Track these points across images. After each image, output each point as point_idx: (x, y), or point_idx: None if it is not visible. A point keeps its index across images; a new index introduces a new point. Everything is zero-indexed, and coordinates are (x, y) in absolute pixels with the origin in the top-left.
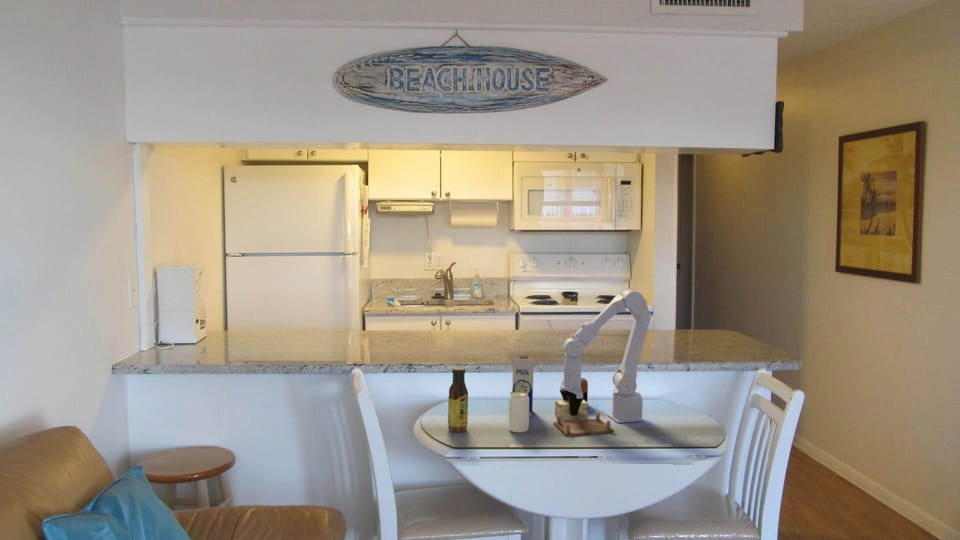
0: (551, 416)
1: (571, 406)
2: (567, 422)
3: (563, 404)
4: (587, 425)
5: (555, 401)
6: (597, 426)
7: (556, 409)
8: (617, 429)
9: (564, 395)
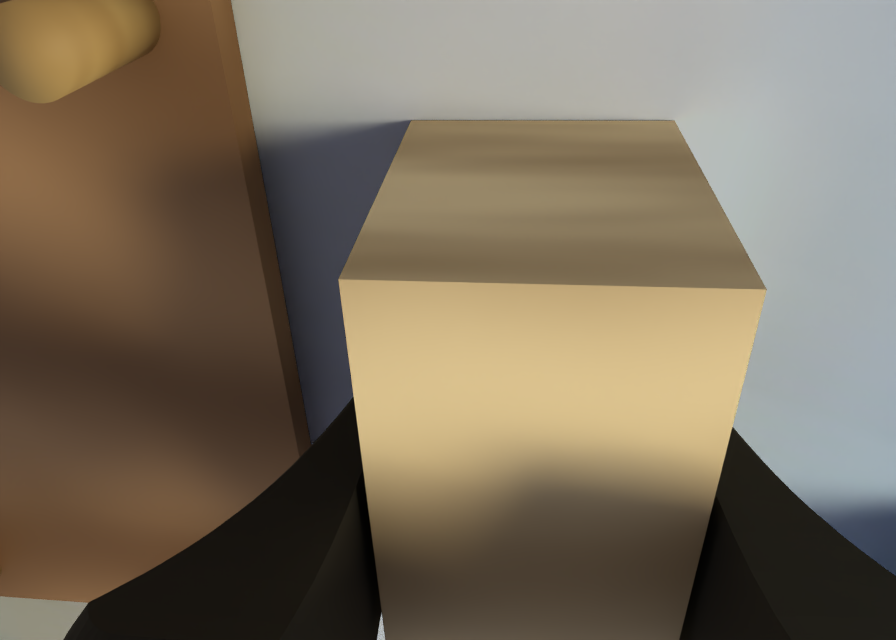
0: (696, 45)
1: (282, 484)
2: (167, 197)
3: (351, 373)
4: (60, 420)
5: (743, 277)
6: (40, 504)
7: (612, 186)
8: (74, 622)
9: (755, 631)
